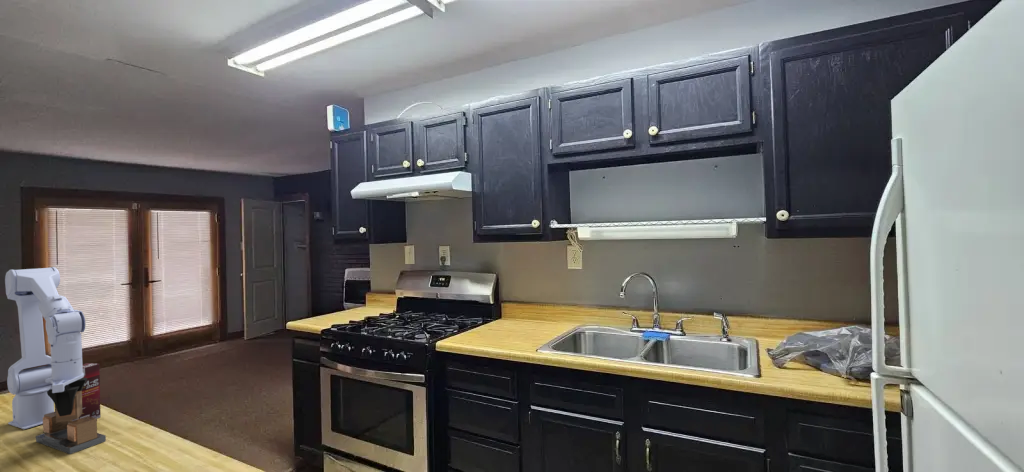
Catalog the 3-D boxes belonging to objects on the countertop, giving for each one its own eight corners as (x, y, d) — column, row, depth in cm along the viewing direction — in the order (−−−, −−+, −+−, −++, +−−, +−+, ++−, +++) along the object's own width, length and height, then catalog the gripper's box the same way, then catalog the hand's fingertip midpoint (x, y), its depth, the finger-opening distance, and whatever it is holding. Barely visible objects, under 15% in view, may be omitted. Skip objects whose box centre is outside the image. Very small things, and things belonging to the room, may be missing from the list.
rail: (36, 441, 118) (35, 416, 118) (71, 430, 125) (70, 406, 124) (70, 454, 111) (69, 427, 111) (105, 441, 118) (105, 416, 118)
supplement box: (68, 430, 125) (66, 372, 124) (54, 428, 126) (52, 371, 125) (102, 417, 133) (100, 363, 133) (89, 415, 134) (87, 362, 134)
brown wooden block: (61, 416, 119) (60, 393, 118) (82, 413, 121) (81, 390, 120) (55, 422, 115) (54, 399, 115) (77, 419, 117) (76, 396, 117)
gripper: (55, 355, 121) (57, 405, 122) (34, 369, 109) (36, 425, 109) (91, 351, 125) (92, 400, 125) (73, 364, 112) (75, 419, 113)
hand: (68, 411), depth 118 cm, fingers closed on brown wooden block, 4 cm apart
